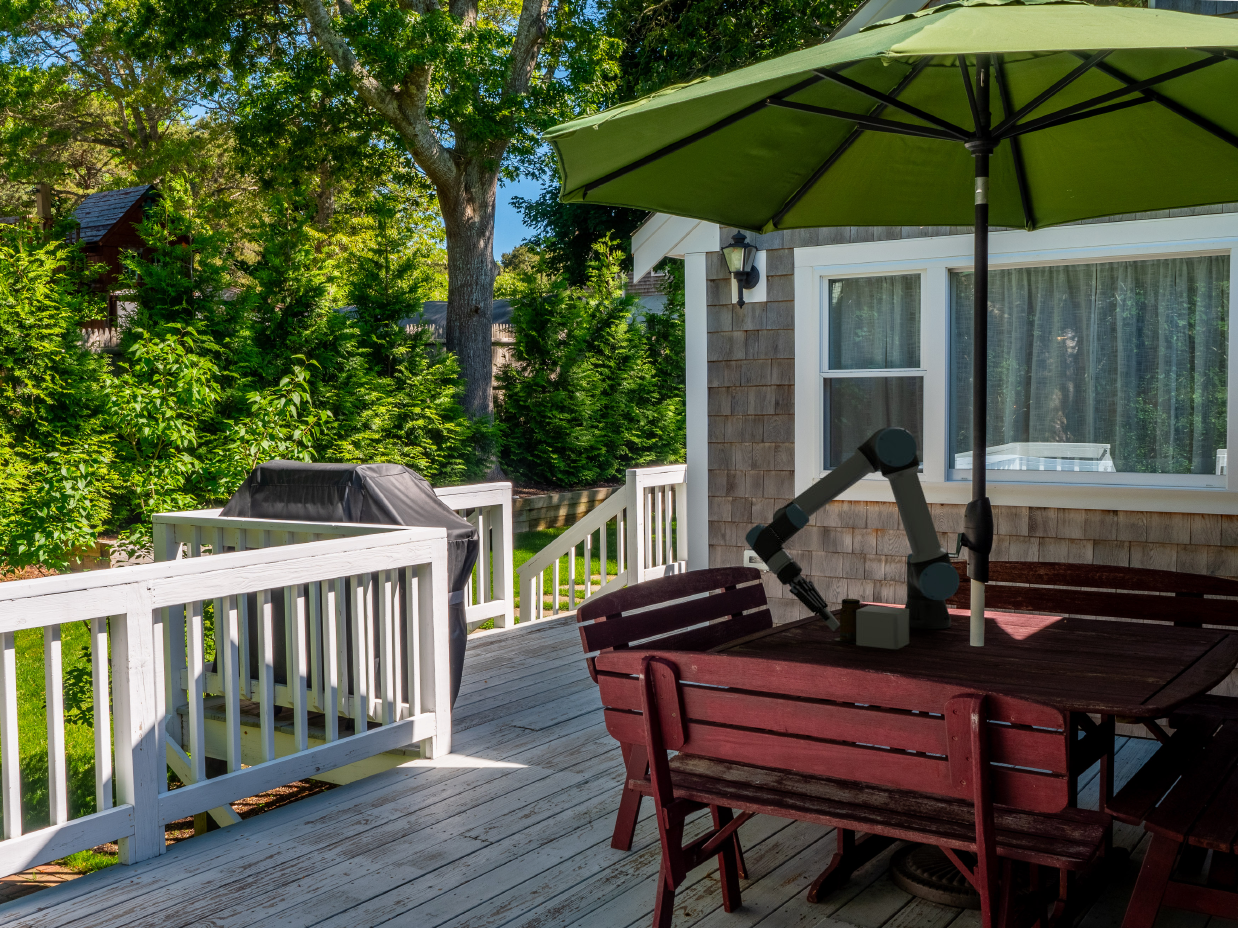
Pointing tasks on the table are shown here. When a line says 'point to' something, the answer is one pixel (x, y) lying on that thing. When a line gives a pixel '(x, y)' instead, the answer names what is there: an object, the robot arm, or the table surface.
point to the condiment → (848, 620)
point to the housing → (882, 627)
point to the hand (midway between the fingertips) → (836, 627)
